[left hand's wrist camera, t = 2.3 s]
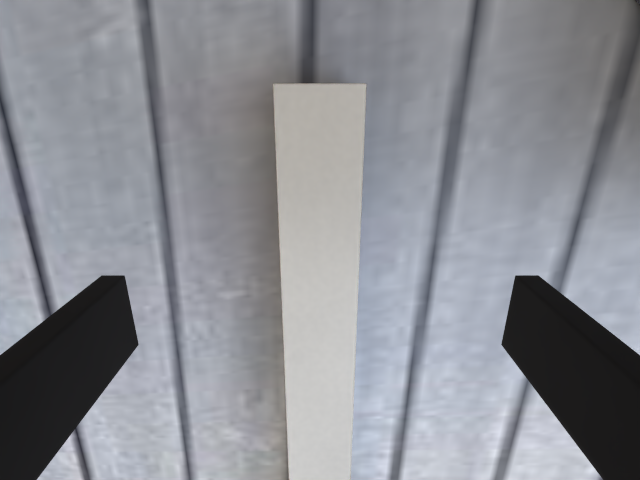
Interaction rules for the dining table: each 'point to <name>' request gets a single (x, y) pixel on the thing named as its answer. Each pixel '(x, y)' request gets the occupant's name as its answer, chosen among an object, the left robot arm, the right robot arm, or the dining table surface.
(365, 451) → the dining table surface
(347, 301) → the beam
